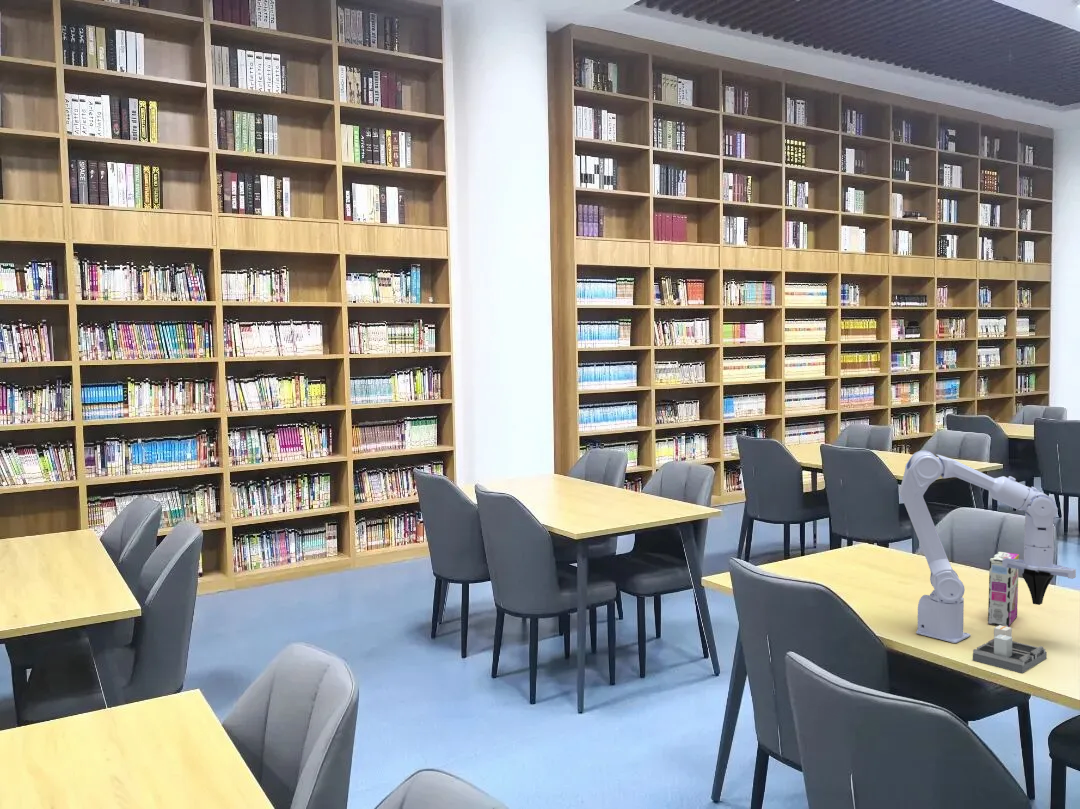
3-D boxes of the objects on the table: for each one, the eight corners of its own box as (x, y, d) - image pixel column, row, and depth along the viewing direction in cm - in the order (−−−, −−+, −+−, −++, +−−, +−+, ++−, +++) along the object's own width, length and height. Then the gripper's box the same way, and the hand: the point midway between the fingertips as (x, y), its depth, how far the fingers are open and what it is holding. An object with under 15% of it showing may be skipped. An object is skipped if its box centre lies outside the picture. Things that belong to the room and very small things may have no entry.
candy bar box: (1010, 628, 201) (1011, 561, 200) (987, 624, 204) (988, 559, 203) (1018, 617, 209) (1019, 553, 208) (996, 613, 212) (997, 550, 211)
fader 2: (993, 655, 178) (994, 636, 178) (999, 652, 180) (1000, 633, 180) (1006, 658, 176) (1006, 639, 176) (1012, 655, 178) (1012, 636, 178)
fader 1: (993, 645, 184) (994, 627, 184) (999, 642, 186) (999, 624, 186) (1005, 648, 182) (1006, 630, 182) (1011, 645, 184) (1011, 627, 184)
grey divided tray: (972, 660, 180) (972, 648, 180) (998, 646, 188) (998, 635, 188) (1022, 673, 172) (1022, 660, 172) (1046, 658, 180) (1046, 646, 180)
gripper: (997, 542, 191) (996, 600, 192) (1068, 553, 180) (1067, 614, 181) (1009, 538, 196) (1008, 594, 197) (1079, 547, 185) (1078, 607, 186)
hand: (1037, 603), depth 189 cm, fingers closed
